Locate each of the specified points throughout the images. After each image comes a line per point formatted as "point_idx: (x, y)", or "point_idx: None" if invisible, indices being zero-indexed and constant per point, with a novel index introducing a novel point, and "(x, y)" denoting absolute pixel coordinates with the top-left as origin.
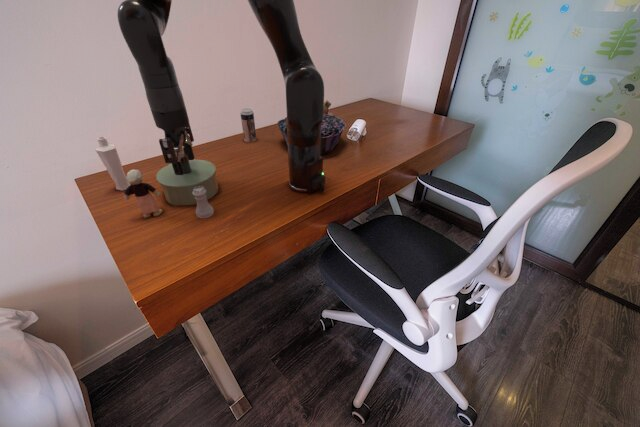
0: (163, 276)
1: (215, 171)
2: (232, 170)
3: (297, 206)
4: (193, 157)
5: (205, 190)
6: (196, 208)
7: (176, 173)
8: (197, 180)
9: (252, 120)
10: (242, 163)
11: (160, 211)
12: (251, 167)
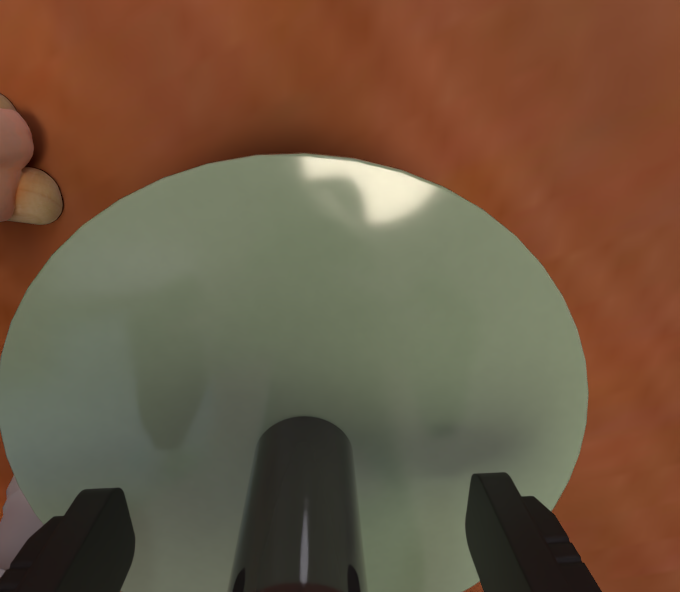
0: None
1: None
2: (580, 484)
3: None
4: (476, 564)
5: None
6: (20, 490)
7: (49, 533)
8: (150, 575)
9: None
10: (663, 515)
11: (25, 221)
12: (596, 563)
